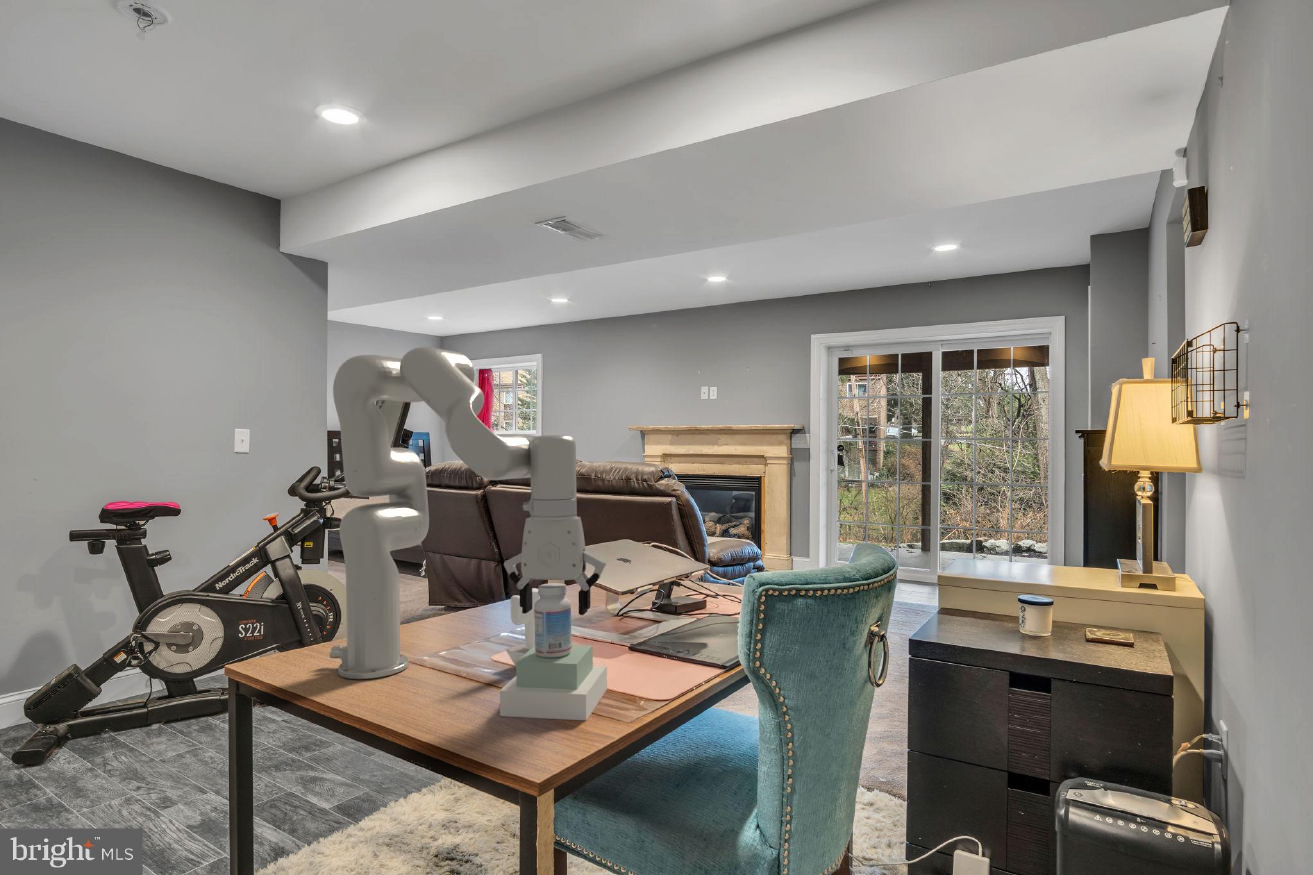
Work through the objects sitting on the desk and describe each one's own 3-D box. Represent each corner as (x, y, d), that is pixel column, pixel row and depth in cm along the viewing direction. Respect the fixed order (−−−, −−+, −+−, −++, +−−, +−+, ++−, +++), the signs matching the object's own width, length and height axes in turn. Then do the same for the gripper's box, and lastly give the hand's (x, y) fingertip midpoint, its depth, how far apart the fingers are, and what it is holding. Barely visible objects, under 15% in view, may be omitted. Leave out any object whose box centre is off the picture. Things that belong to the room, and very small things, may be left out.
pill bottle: (576, 648, 119) (575, 582, 119) (564, 659, 113) (563, 590, 113) (543, 647, 120) (542, 581, 120) (528, 657, 114) (528, 588, 114)
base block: (500, 715, 110) (499, 690, 111) (530, 685, 124) (529, 662, 124) (586, 720, 108) (586, 694, 108) (607, 688, 122) (606, 665, 122)
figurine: (563, 663, 136) (562, 586, 136) (526, 677, 129) (525, 595, 129) (537, 657, 141) (537, 582, 141) (500, 669, 133) (500, 590, 133)
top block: (516, 686, 112) (516, 661, 112) (536, 666, 122) (536, 643, 122) (577, 689, 111) (576, 663, 111) (592, 669, 120) (592, 645, 120)
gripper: (495, 511, 114) (497, 616, 114) (599, 511, 111) (600, 619, 111) (512, 507, 122) (513, 605, 121) (609, 507, 119) (611, 608, 119)
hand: (555, 612), depth 116 cm, fingers open, 9 cm apart
